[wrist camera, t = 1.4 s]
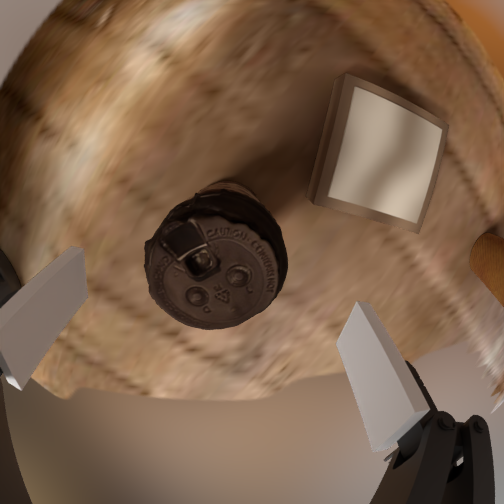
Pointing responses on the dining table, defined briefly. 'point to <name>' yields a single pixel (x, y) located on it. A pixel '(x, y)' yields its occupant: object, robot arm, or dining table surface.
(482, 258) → the disposable coffee cup
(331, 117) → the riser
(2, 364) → the robot arm
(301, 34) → the dining table surface
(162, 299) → the coffee cup
